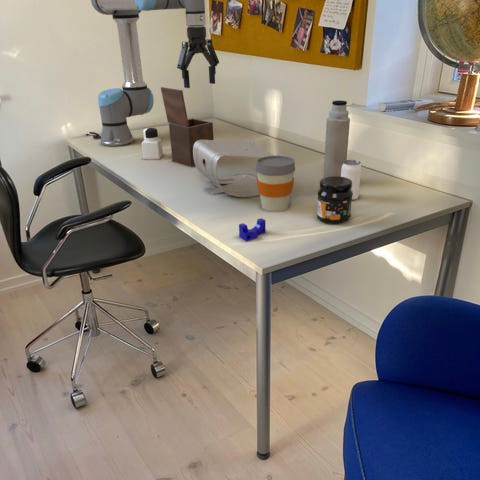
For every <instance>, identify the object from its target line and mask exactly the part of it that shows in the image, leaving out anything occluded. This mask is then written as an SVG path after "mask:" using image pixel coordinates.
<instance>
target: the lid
mask: <svg viewBox="0 0 480 480" xmlns="http://www.w3.org/2000/svg"><path fill="white" fill-rule="evenodd" d="M160 91H161V97H162V102H163V106H164V111H165V115H166V120H167V123H168V124H169V123H172V124H176V125H181V126H185V127H189V123H188V119H189V117H188V113H187V109H186V108H187V107H186V102H185V97H184V92H183V89H176V88H170V87H163V86H162V87H160Z"/></svg>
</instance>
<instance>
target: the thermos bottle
mask: <svg viewBox="0 0 480 480" xmlns="http://www.w3.org/2000/svg"><path fill="white" fill-rule="evenodd" d="M331 104H332V105H331V110H330V111H329V113H328V117H327V118H326V123H325V124H326V125H325V126H326V127H325V140H324V142H325V143H324V159H323V175H322V176H323V177H322V179H323V178H326V177H332V176H339V177H341V168H342V165H343V162H344V161H346V160H348V149H349V138H350V137H349V134H350V123H351V119H350V117H349V115H350V114H349V113H350V112H349V110H347V104H348V101H347V100H341V99H340V100H338V99H337V100H332V103H331Z"/></svg>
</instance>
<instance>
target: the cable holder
mask: <svg viewBox="0 0 480 480" xmlns="http://www.w3.org/2000/svg"><path fill="white" fill-rule="evenodd" d="M238 231H239V232H238V237H239V238H240V239H241V240H243V241H245V242H249V241H252V240H256V239H258V236H259V235H263V234H266V219H264V218H262V217H260V218H257V220H256V224H255V225H254V227H252V228H248V224H246V223H244V222H242V223H240V224H238Z"/></svg>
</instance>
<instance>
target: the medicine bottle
mask: <svg viewBox="0 0 480 480" xmlns="http://www.w3.org/2000/svg"><path fill="white" fill-rule="evenodd" d="M158 133H159V132H158V129H157V128H155V127H147V128H144V129H142V134H143V141H142V142H141V150H142V158H143V160H160V159H161V157H163V155H164V151H163V143H162V138H159V134H158Z"/></svg>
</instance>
